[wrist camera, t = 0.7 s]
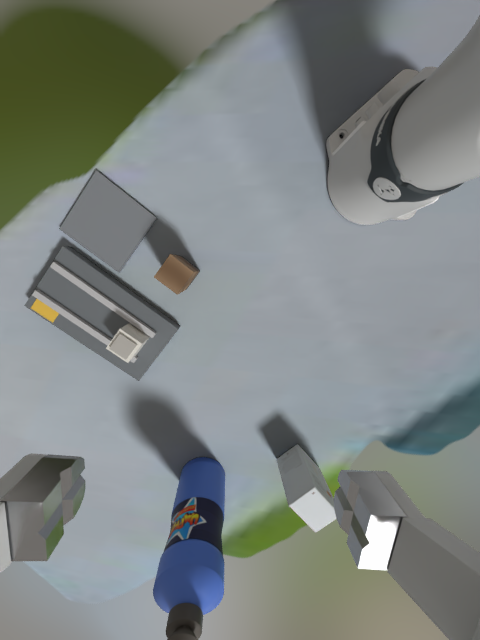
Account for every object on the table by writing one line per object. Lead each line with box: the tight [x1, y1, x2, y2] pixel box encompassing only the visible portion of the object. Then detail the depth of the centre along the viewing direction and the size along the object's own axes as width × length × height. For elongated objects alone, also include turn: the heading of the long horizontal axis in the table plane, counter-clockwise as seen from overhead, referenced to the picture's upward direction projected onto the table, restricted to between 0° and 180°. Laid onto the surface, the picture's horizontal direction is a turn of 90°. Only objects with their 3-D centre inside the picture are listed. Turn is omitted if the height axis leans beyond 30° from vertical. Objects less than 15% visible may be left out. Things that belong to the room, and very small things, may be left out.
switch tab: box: [106, 323, 150, 363], centre depth 41 cm, size 4×4×4 cm
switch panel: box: [25, 246, 180, 381], centre depth 43 cm, size 12×22×3 cm, turn 52°
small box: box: [277, 444, 337, 532], centre depth 47 cm, size 8×6×10 cm
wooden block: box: [154, 254, 200, 294], centre depth 40 cm, size 4×4×8 cm
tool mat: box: [59, 170, 157, 272], centre depth 41 cm, size 11×11×1 cm
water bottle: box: [153, 457, 225, 640], centre depth 40 cm, size 9×9×25 cm
